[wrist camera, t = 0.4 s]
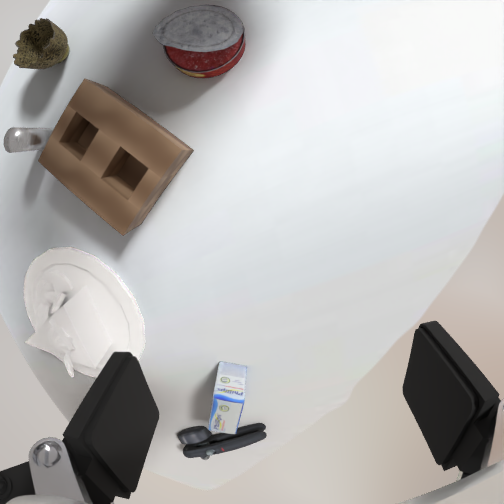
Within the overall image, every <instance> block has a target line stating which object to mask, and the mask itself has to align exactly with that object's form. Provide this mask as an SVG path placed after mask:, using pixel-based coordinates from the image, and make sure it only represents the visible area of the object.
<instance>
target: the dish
mask: <svg viewBox="0 0 504 504" xmlns="http://www.w3.org/2000/svg"><path fill="white" fill-rule="evenodd" d="M23 296H24V301H25V306H26V310H27V315H28V317H29V320H30V322H31V324H32V326H33V328H34V330H35V333H34V334H33V335H31V336H30V337H29V338H28V339H27V340H26V341H25V342H24V343H26V344H28V345H31V346H33V347H36V348H38V349H41V350H43V351H46V352H48V353H51V354H53V355H54V356H55V357H57V358H58V359H59V360H60V361H62V362H63V363H64V364H65V367H66V370H67V372H68V373H69V374H70V376H71V377H72V378H73V377H74V370H76V371H78V372H80V373H82V374H85V375H87V376H91V377H98V375H99V374H100V372H101V371H102V369H103V367H104V366H105V364H106V363H107V361H108V360H109V358H110V357H111V355H112V354H113V353H114V352H130V353H131V354H132V355H133V356H135V357H136V358H137V359H138V362H139V360H140V357H141V355H142V352H143V349H144V347H145V344H146V342H145V326H144V319H143V317H142V315H141V312H140V310H139V307H138V305H137V302H136V300H135V297H134V295H133V294H132V293H131V291H130V290H129V289H128V288H127V286H126V285H125V284H124V282H123V281H122V280H121V278H120V277H119V276H118V274H117V273H116V272H115V271H114V270H112V269H111V268H110V267H108V266H107V265H106V264H105V263H103V262H102V261H101V260H99V259H98V258H97V257H96V256H94V255H92V254H89V253H86V252H84V251H81V250H78V249H76V248H73V247H62V248H51V249H49V250H47V251H46V252H44V253H43V254H41V255H40V256H38V257H37V258H35V259H34V260H33V261H32V263H31V265H30V267H29V269H28V271H27V273H26V275H25V281H24V293H23ZM73 369H74V370H73Z"/></svg>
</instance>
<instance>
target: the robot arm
mask: <svg viewBox="0 0 504 504" xmlns="http://www.w3.org/2000/svg"><path fill="white" fill-rule="evenodd" d="M403 395H404V397H405V399H406V401H407V403H408V405H409V407H410V409H411V411H412V413H413V415H414V417H415V419H416V421H417V423H418V425H419V427H420V429H421V431H422V433H423V436H424V438H425V440H426V442H427V444H428V446H429V448H430V450H431V452H432V455H433V457H434V459H435V461H436V463H437V464H438V465H442V467H443V470H444V471H445V470H448V469H450V468H452V467H455V466H458V468H459V470H460V472H459V475H458V477H457V480H456V482H454V483H452V484H449V485H447V486H445V487H442V488H439V489H437V490H434V491H432V492H429V493H427V494H424V495H421V496H418V497H415V498H413V499H410V500H406V501H403V502H400V503H397V504H504V398H503V399H502V401H501V400H500V399H499V398H498V396H499V393H498V392H497V391H496V390H495V388H494V387H493V386H492V385H491V383H490V382H489V381H488V380H487V378H486V377H485V376H484V374H483V373H482V372H481V371H480V370H479V368H478V367H477V366H476V365H475V364H474V363H473V361H472V360H471V359H470V358H469V357H468V355H467V354H466V353H465V352H464V351H463V350H462V348H460V346H459V345H458V344H457V343H456V342H455V341H454V339H453V338H452V337H451V336H450V335H449V334H448V333H447V332H446V331H445V330H444V328H443V327H442V326H441V325H440V324H439V323H438V322H437V321H431V322H427V323H423V324H420V326H419V328H418V329H416V331H415V333H414V339H413V344H412V349H411V354H410V358H409V363H408V368H407V372H406V376H405V380H404V384H403ZM158 419H159V410H158V408H157V406H156V403H155V401H154V399H153V396H152V394H151V392H150V389H149V387H148V385H147V382H146V380H145V377H144V375H143V372H142V370H141V367H140V364H139V362H138V359H137V358H136V357H135V356H133V355H132V354H131V353H130V352H114V353H113V354H112V355H111V357H110V358H109V360H108V361H107V363H106V364H105V366H104V367H103V369H102V371H101V372H100V374H99V375H98V377H97V378H96V380H95V382H94V383H93V385H92V386H91V388H90V390H89V391H88V393H87V395H86V396H85V398H84V399H83V401H82V403H81V404H80V406H79V408H78V409H77V411H76V413H75V414H74V416H73V418H72V419H71V421H70V423H69V425H68V426H67V428H66V430H65V432H64V434H63V436H64V439H63V440H62V441H61V440H60V439H57V438H53V437H48V438H43V439H41V440H39V441H38V442H36V443H35V444H34V445H33V447H32V448H31V450H30V452H29V461H28V462H25V463H23V464H20V465H17V466H14V467H11V468H9V469H6V470H3V471H0V504H114V502H113V501H114V498H115V496H118V497H122V498H126V499H129V498H130V494H131V492H134V491H135V490H136V488H137V485H138V481H139V478H140V475H141V472H142V469H143V466H144V462H145V459H146V456H147V453H148V450H149V447H150V444H151V441H152V438H153V435H154V432H155V429H156V425H157V422H158Z"/></svg>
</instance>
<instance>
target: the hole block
mask: <svg viewBox="0 0 504 504" xmlns="http://www.w3.org/2000/svg"><path fill="white" fill-rule="evenodd" d="M193 151H194V150H193V149H191V148H190V147H189V146H188V145H186V144H185V143H184V142H182V141H181V140H180V139H178V138H177V137H176V136H174V135H173V134H172V133H170V132H169V131H168V130H166V129H165V128H164V127H162V126H161V125H160V124H158V123H157V122H155V121H154V120H153V119H151V118H150V117H149V116H147V115H146V114H145V113H143V112H142V111H140V110H139V109H138V108H136V107H135V106H133V105H132V104H131V103H129V102H128V101H126V100H125V99H124V98H122V97H121V96H119V95H118V94H117V93H115V92H114V91H112V90H111V89H109V88H108V87H106V86H104V85H101V84H99V83H96V82H93V81H90V80H88V79H84V80H83V82H82V83H81V85H80V86H79V88H78V89H77V91H76V92H75V94H74V96H73V97H72V99H71V100H70V102H69V104H68V105H67V107H66V109H65V110H64V112H63V114H62V116H61V117H60V119H59V121H58V123H57V125H56V126H55V128H54V130H53V132H52V134H51V136H50V138H49V140H48V142H47V144H46V146H45V148H44V150H43V152H42V154H41V156H40V158H39V160H38V161H39V162H40V163H41V164H42V165H43V166H44V167H45V168H46V169H47V170H48V171H49V172H50V173H51V174H52V175H54V176H55V177H56V178H57V179H58V180H59V181H60V182H61V183H62V184H63V185H64V186H66V187H67V188H68V189H69V190H70V191H71V192H72V193H73V194H75V195H76V196H77V197H78V198H79V199H80V200H81V201H83V202H84V203H85V204H86V205H87V206H88V207H89V208H91V209H92V210H93V211H94V212H95V213H96V214H98V215H99V216H100V217H101V218H102V219H103V220H105V221H106V222H107V223H108V224H109V225H111V226H112V227H113V228H114V229H115V230H117V231H118V232H119V233H120V234H121V235H123V236H124V235H125V234H127V233H128V232H130V231H131V230H133V229H134V228H136V227H137V226H139V225H140V224H141V223H142V222H143V220H144V219H145V217H146V216H147V214H148V213H149V212H150V210H151V209H152V207H153V206H154V204H155V203H156V201H157V200H158V198H159V197H160V196H161V194H162V193H163V191H164V190H165V189H166V187H167V186H168V184H169V183H170V182H171V180H172V179H173V177H174V176H175V175H176V173H177V172H178V171H179V169H180V168H181V167H182V165H183V164H184V163H185V161H186V160H187V159H188V157H189V156H190V155H191V153H192V152H193Z"/></svg>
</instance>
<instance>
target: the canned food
mask: <svg viewBox="0 0 504 504" xmlns="http://www.w3.org/2000/svg"><path fill="white" fill-rule="evenodd" d="M153 35H154V36H155V38H156V40H157V41H158V42H159V43H160V44H163V48H164V52H165V54H166V56H167V58H168V60H169V61H170V62H171V63H172V64H173V65H174V66H175V67H176V68H177V69H178V70H180V71H181V72H182V73H184V74H186V75H188V76H191V77H196V78H210V77H214V76H218V75H221V74H223V73H225V72H227V71H228V70H230V69H231V68H233V67H234V66H235V65H236V64H237V63H238V61H239V60H240V58H241V57H242V55H243V52H244V50H245V30H244V27H243V24H242V22H241V20H240V19H239V17H238V16H237V15H236V14H235V13H233V12H232V11H230V10H228V9H226V8H223V7H220V6H215V5H202V6H190V7H188V8H185V9H182V10H179V11H176V12H174V13H173V14H171V15H170V16H168V17H166V18H164V19H163V20H162V21H161V22H160V23H159V24H158V25H157V26H156V27H155V30H154V32H153Z"/></svg>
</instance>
